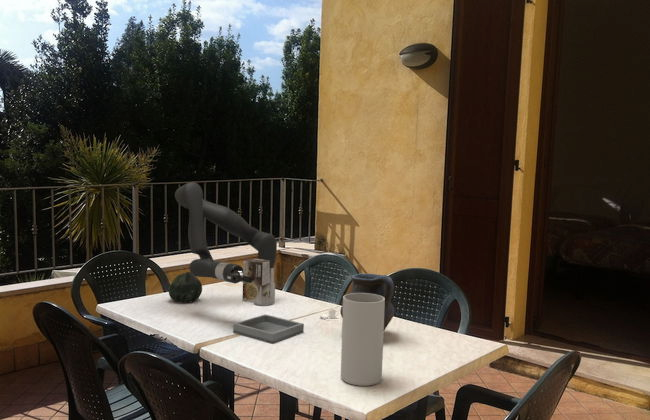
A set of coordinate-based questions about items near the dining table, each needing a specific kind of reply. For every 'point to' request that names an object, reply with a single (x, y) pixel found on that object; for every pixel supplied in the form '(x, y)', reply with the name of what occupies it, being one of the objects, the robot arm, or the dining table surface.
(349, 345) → the cylinder vase
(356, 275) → the pitcher
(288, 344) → the dining table surface
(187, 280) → the squash
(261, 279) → the coffee box
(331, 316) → the teacup and saucer
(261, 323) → the tray
